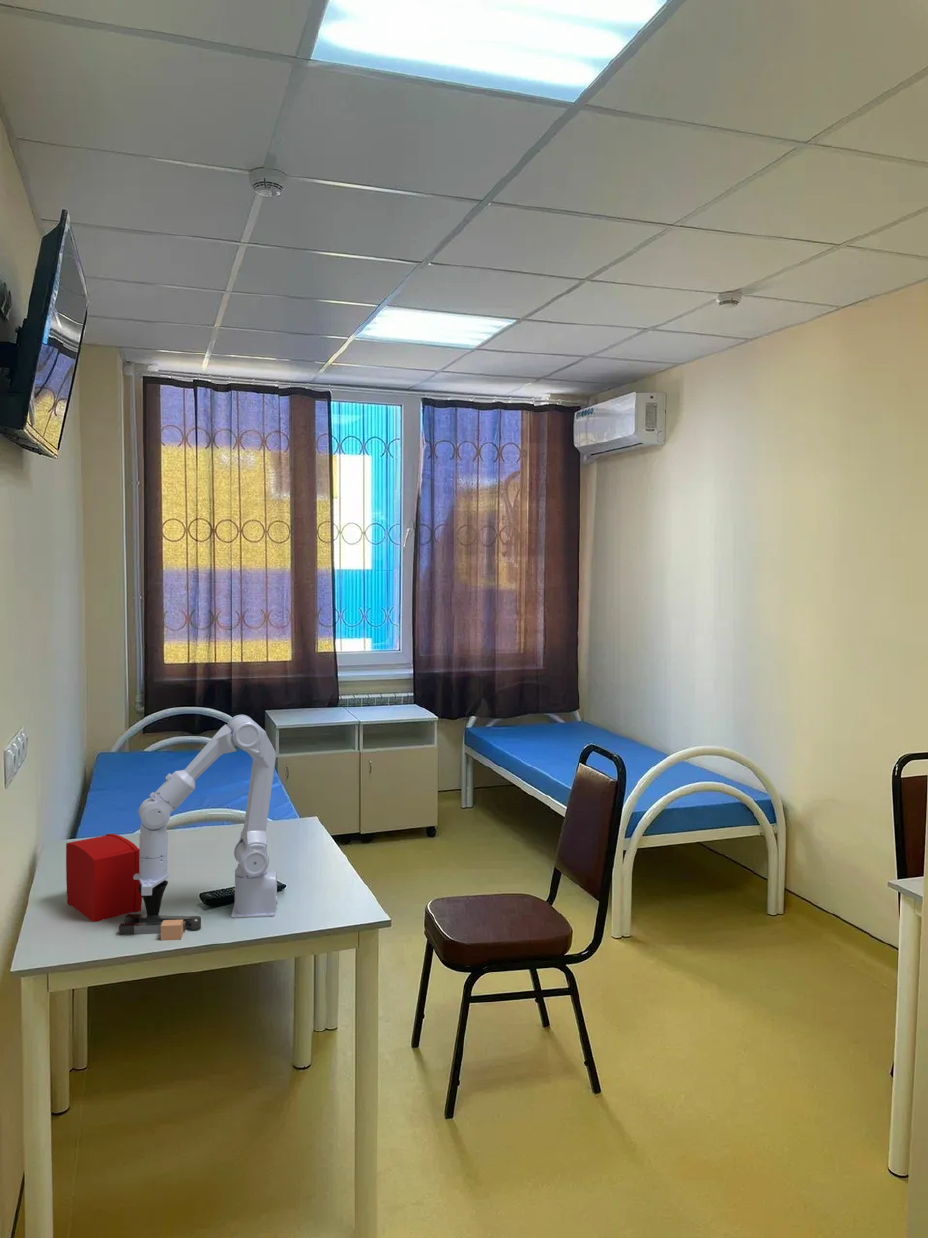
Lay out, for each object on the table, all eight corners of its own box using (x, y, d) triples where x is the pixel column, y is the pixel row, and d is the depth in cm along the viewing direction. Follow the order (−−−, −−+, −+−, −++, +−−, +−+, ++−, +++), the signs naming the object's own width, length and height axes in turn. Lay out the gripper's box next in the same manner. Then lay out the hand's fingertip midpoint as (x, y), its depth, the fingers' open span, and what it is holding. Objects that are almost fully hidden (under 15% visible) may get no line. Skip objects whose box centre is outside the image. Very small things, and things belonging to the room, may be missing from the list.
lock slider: (183, 933, 187) (183, 919, 187) (180, 939, 184) (180, 925, 184) (163, 934, 186) (163, 920, 186) (160, 940, 183) (160, 926, 183)
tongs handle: (185, 930, 189) (185, 920, 189) (184, 933, 187) (184, 923, 187) (120, 932, 187) (120, 923, 187) (119, 936, 185) (119, 926, 185)
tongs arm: (203, 925, 191) (203, 915, 191) (198, 931, 188) (198, 921, 188) (127, 923, 191) (127, 913, 191) (122, 929, 188) (122, 919, 188)
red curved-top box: (143, 911, 199) (142, 845, 198) (94, 924, 192) (94, 855, 191) (112, 891, 211) (112, 829, 210) (66, 903, 203) (65, 838, 202)
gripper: (141, 844, 198) (140, 904, 198) (126, 866, 183) (125, 930, 184) (174, 844, 199) (173, 903, 199) (161, 865, 184) (161, 929, 185)
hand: (153, 916), depth 192 cm, fingers closed, pressing on tongs arm
